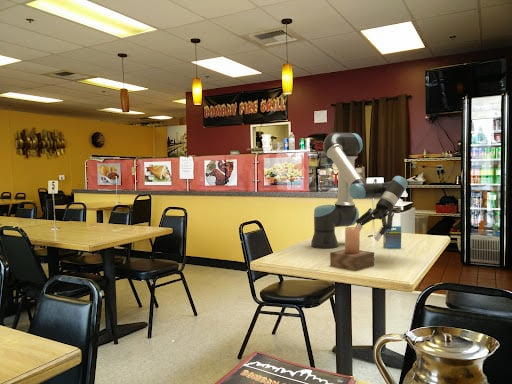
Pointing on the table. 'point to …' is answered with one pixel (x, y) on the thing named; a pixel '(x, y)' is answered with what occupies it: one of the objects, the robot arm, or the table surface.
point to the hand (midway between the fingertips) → (364, 237)
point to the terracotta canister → (352, 240)
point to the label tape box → (392, 238)
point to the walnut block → (352, 260)
